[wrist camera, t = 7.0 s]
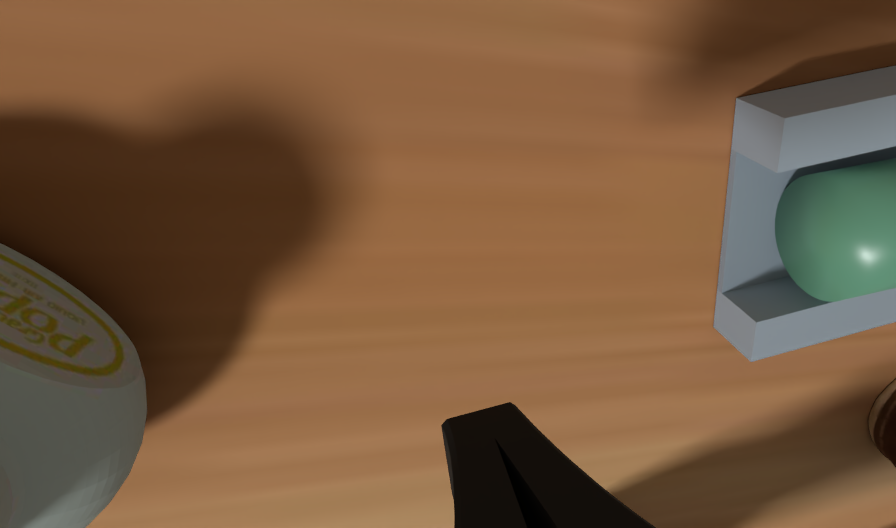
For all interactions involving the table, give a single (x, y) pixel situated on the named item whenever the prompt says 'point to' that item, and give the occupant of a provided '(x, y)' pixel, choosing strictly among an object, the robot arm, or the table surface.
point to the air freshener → (62, 400)
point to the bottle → (840, 231)
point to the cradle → (757, 196)
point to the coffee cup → (885, 422)
